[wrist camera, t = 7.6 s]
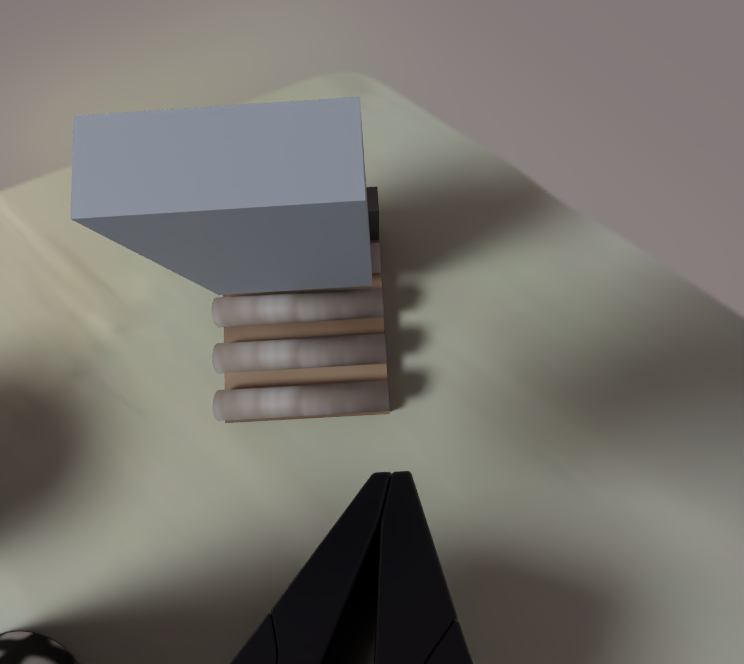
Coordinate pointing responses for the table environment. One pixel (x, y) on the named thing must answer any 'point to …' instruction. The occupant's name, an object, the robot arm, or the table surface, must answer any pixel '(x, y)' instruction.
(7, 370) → the table surface
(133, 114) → the slab
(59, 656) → the spotted tube
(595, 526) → the table surface
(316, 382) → the roller track
